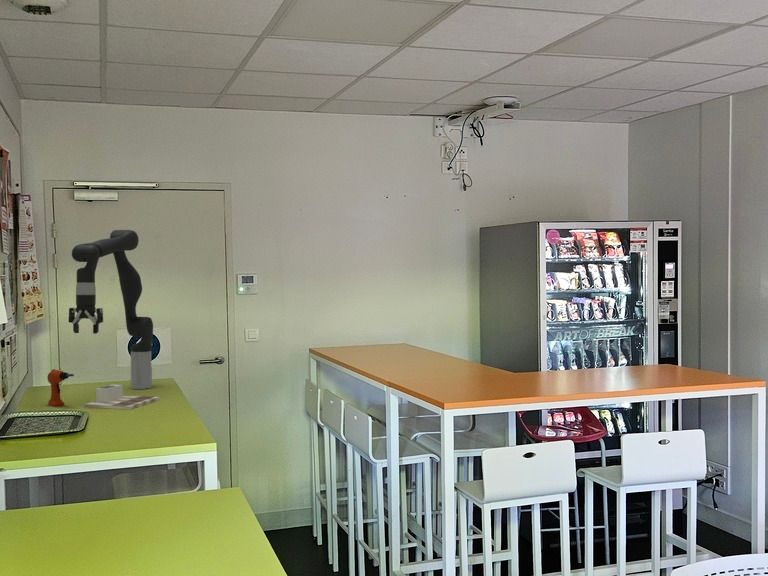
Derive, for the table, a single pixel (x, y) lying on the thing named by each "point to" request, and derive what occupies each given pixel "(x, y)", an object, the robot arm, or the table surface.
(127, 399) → the subfloor panel
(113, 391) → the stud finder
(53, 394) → the toy drill
